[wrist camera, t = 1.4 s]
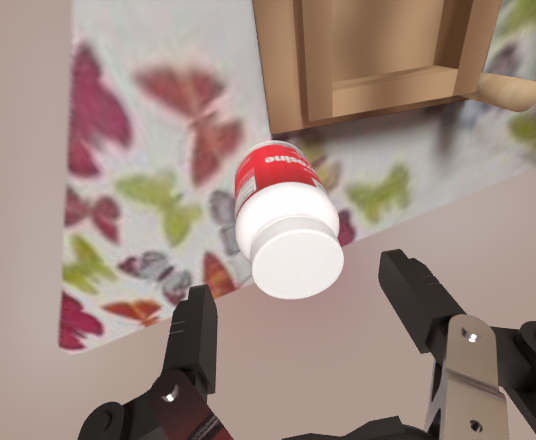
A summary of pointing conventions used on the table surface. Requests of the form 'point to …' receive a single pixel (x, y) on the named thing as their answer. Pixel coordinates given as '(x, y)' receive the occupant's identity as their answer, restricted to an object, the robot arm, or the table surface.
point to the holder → (377, 59)
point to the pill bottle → (285, 222)
